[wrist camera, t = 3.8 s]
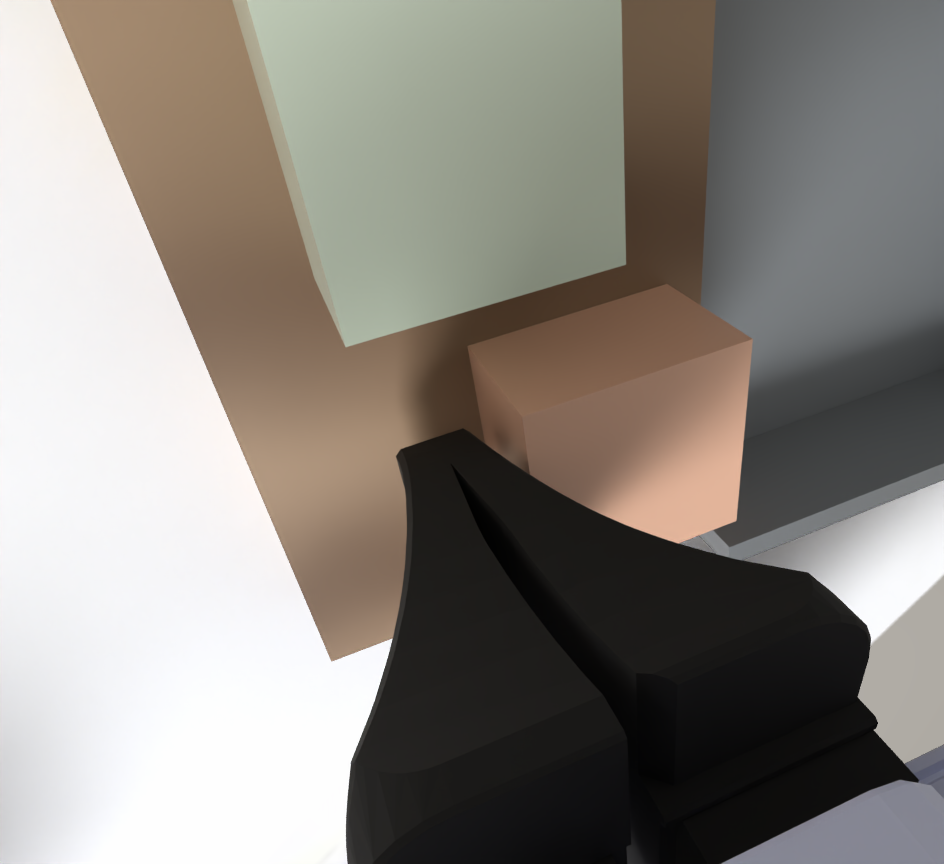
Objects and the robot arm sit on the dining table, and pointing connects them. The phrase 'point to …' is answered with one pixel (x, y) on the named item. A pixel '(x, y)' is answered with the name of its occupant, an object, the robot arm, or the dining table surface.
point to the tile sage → (444, 148)
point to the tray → (828, 254)
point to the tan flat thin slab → (300, 301)
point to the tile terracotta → (625, 409)
